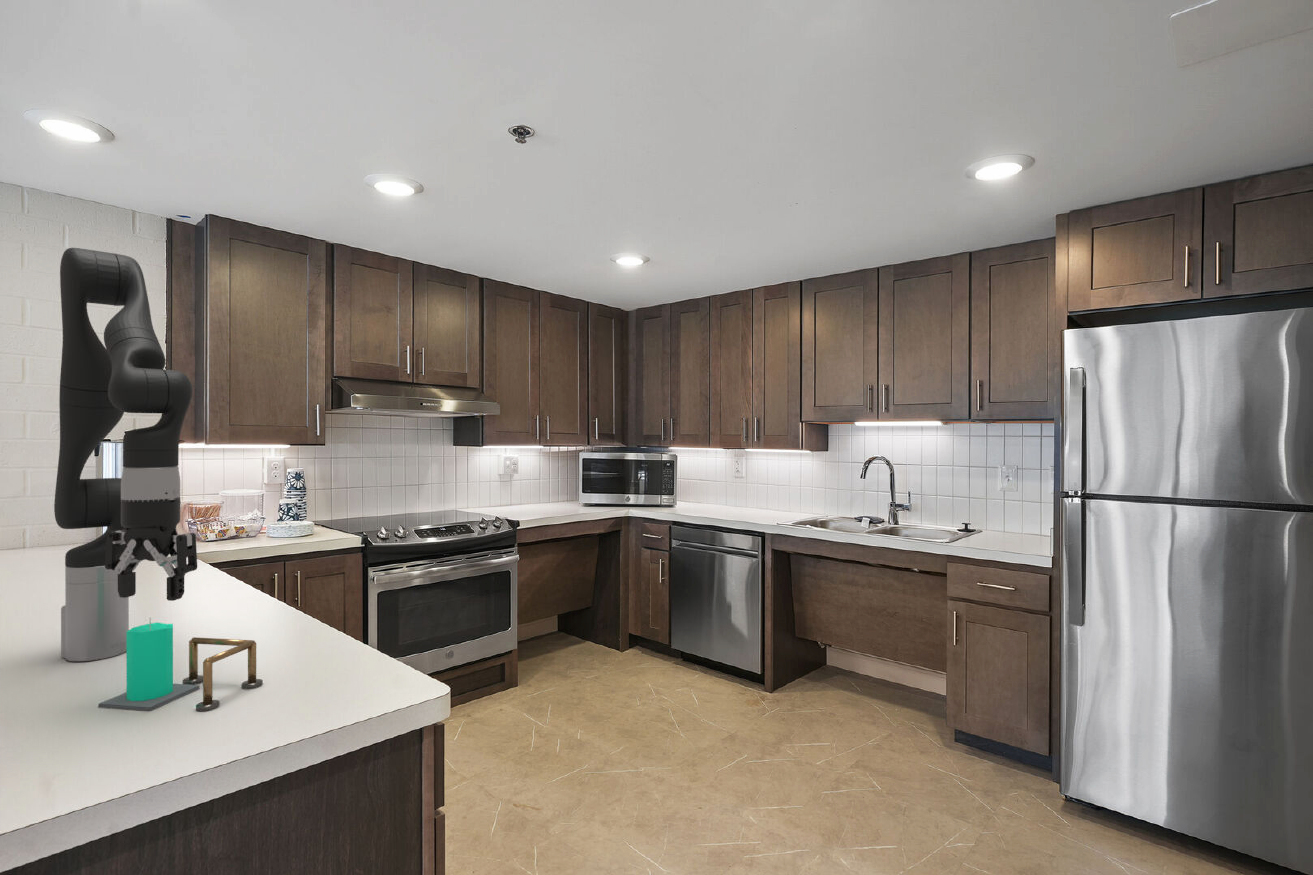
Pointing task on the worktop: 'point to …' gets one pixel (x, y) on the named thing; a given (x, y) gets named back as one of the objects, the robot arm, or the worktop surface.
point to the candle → (149, 661)
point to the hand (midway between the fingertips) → (151, 598)
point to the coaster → (151, 704)
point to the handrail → (207, 664)
